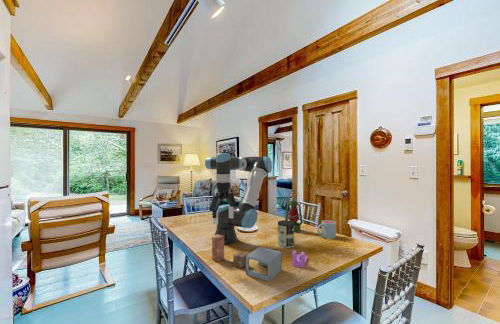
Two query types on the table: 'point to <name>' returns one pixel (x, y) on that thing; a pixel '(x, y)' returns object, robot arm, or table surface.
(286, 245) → the coffee can
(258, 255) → the box
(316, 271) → the table surface
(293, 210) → the lantern
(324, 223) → the mug
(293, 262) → the bracket
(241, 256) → the reddish brown block
